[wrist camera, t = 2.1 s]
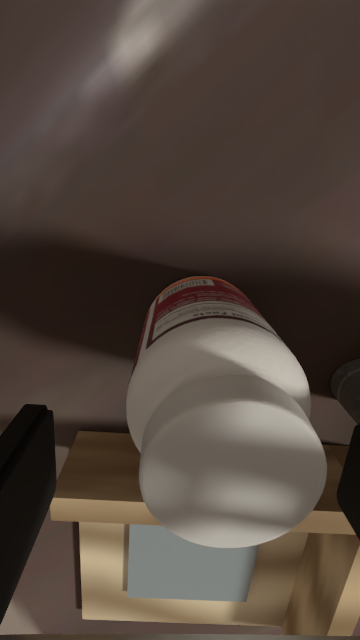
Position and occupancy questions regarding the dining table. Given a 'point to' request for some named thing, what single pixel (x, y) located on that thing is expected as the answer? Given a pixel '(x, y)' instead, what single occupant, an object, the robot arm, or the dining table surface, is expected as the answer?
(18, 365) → the dining table surface
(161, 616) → the wooden corner stand
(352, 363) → the flask
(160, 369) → the pill bottle
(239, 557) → the slate pad
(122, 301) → the dining table surface
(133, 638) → the robot arm
